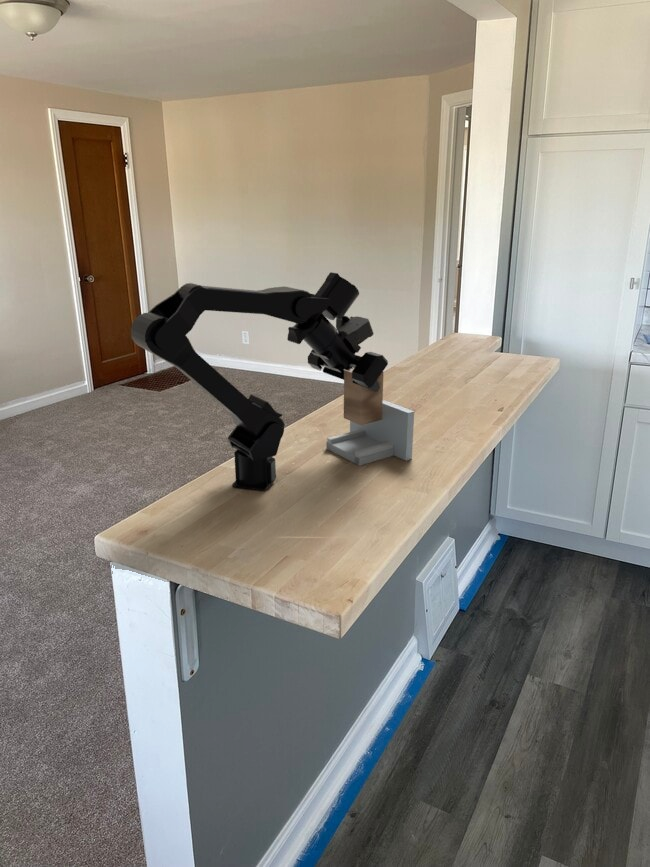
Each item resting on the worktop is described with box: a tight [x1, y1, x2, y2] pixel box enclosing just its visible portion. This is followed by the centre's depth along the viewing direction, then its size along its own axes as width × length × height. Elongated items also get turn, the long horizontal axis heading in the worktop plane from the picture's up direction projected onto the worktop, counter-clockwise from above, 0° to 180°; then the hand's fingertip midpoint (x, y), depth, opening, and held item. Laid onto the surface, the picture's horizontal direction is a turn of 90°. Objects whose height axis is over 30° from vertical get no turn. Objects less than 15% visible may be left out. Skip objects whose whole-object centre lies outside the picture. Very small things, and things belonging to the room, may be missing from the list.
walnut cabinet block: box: [343, 367, 384, 425], centre depth 128 cm, size 6×6×10 cm
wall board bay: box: [325, 399, 415, 467], centre depth 131 cm, size 11×18×10 cm, turn 36°
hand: (368, 386), depth 128 cm, fingers closed on walnut cabinet block, 5 cm apart
